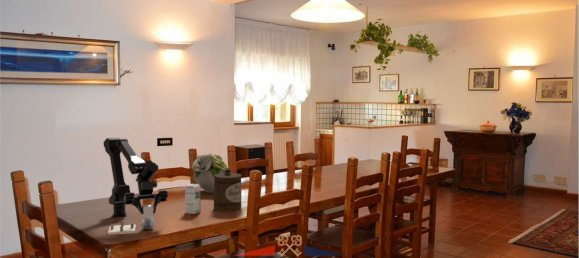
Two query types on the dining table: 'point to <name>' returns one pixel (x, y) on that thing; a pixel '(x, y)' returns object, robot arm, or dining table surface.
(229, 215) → the dining table surface
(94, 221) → the dining table surface
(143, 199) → the robot arm
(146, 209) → the steel canister
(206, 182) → the flower arrangement
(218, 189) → the wooden container
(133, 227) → the pin tray
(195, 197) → the syrup box
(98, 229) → the dining table surface
